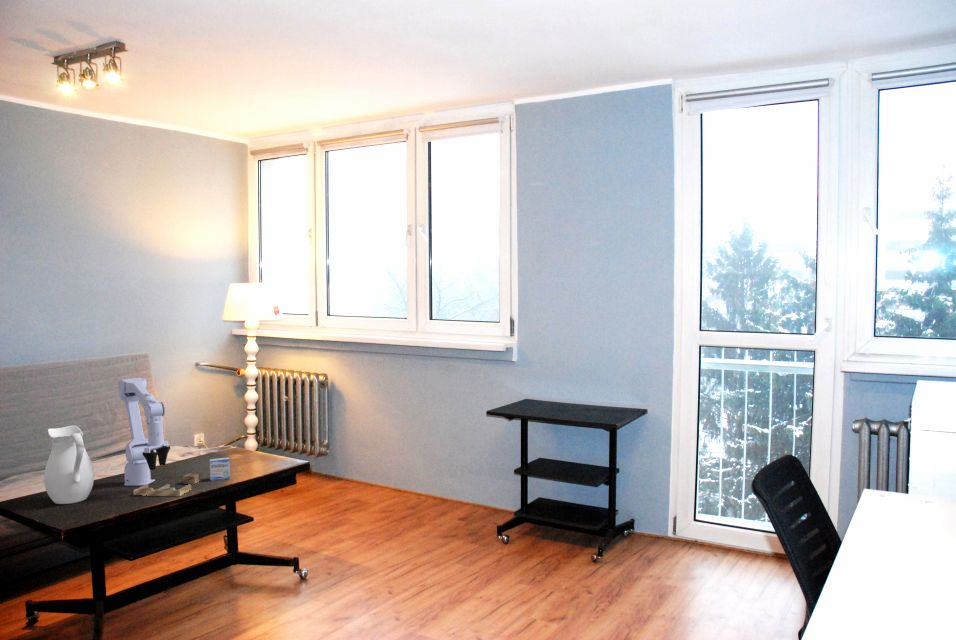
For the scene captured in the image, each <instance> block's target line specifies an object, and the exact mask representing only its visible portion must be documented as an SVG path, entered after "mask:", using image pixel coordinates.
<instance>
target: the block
mask: <svg viewBox="0 0 956 640" xmlns="http://www.w3.org/2000/svg"><path fill="white" fill-rule="evenodd" d="M199 481H200V482H201V473H198V472H195V473H190V472H189V473H187V474H185V475H183V476H182V485H183V484H195V483H197V482H198V483H200V482H199ZM198 483H197V484H198ZM195 485H196V484H195Z"/></svg>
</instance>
